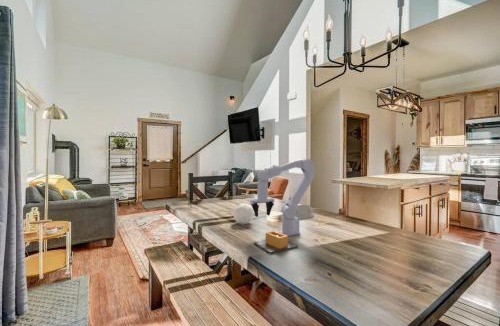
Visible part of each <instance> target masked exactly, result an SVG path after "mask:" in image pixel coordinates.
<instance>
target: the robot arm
mask: <svg viewBox="0 0 500 326" xmlns="http://www.w3.org/2000/svg"><path fill="white" fill-rule="evenodd" d="M315 167H316V166H315V163H314V161H313V160H312V159H311V158H300V159H296V160H293V161H290V162H288V163H284V164H282V165H280V166H279V165H278V164H276V165H275V164H274V165H272V166H271V167H267V168H266V167H265V168H264V170H263V169H261V170H259V171H258V172H257V175H256V176H257V198H256V199H250V201H249V202H250V204H251V205H250V204H249V205H250V206H251V207H252V209H253V213H254V217H255V218H258V217H259V209H260V205H259V204H265V207H266V216H270V215H271V211H272V209H273V206H274V205H275V198H272V197H271V198H268V197H269V191H268V190H269V189H268V188H269V183H268V180H269V179H272V178H275V177H278V176H280V175H281V174H282V173H283V172H285V171H289V170H292V169H295V168H297V169H300V170H301V171H302V174H303V177H302V178H301V181H300V183H299V184H298V186H297V187H296V189H295V191H294V192H293V194H292V196H291V197H290V199H289V200H288V201H287V202H286V203H285V204H284V205H283V206H282V207H281V212H282V216H281V230H280V231H278V232H279V233H281V234H284V235H287V236H288V237H289V236H294V235H295V236H296V235H300V234H301V232H300V219H298V218H297V217H295V214H296V210H297V207H298V205H300V202H301V200H302V199H303V197H304V195H305V193H307V192H306V191H307V190H308V189H309V187H310V185H311V183H312V182H313V180H314V178H315Z"/></svg>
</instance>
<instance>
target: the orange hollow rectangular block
mask: <svg viewBox="0 0 500 326" xmlns="http://www.w3.org/2000/svg"><path fill="white" fill-rule="evenodd" d="M278 236H279V237H278ZM265 240H266V243H267V244H270V245H272V246H274V247H277V248H279V249H281V248H284V247H287V246H288V241H289V236H287V235H284V234H281V233H279V231H275V230H271V231H268V232H265Z"/></svg>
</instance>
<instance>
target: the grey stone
mask: <svg viewBox="0 0 500 326" xmlns="http://www.w3.org/2000/svg"><path fill="white" fill-rule="evenodd" d="M295 217H297V218H298V219H299V220H304V219H309V218H310V219H311V218H314V217H315V216H314V214H313V213H312V210H311V207H310V205H308V204H298V207H297V210H296V214H295Z"/></svg>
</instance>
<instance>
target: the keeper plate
mask: <svg viewBox="0 0 500 326" xmlns="http://www.w3.org/2000/svg"><path fill="white" fill-rule="evenodd" d="M278 237H279V236H278ZM253 245H255V246H257V247H258V248H260V249H261V250H263V251H264V252H265V253H267V254H269V255H272V254H273V255H274V254H278V253H281V252H286V251H290V250H293V249H294V250H295V249H299V245H298V244H296V243H294V242H292V241H290V240H288V246H287V247H284V248H281V249H279V248H277V247H274V246H272V245H270V244H267V243H266V239H262V240H257V241H253Z"/></svg>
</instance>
